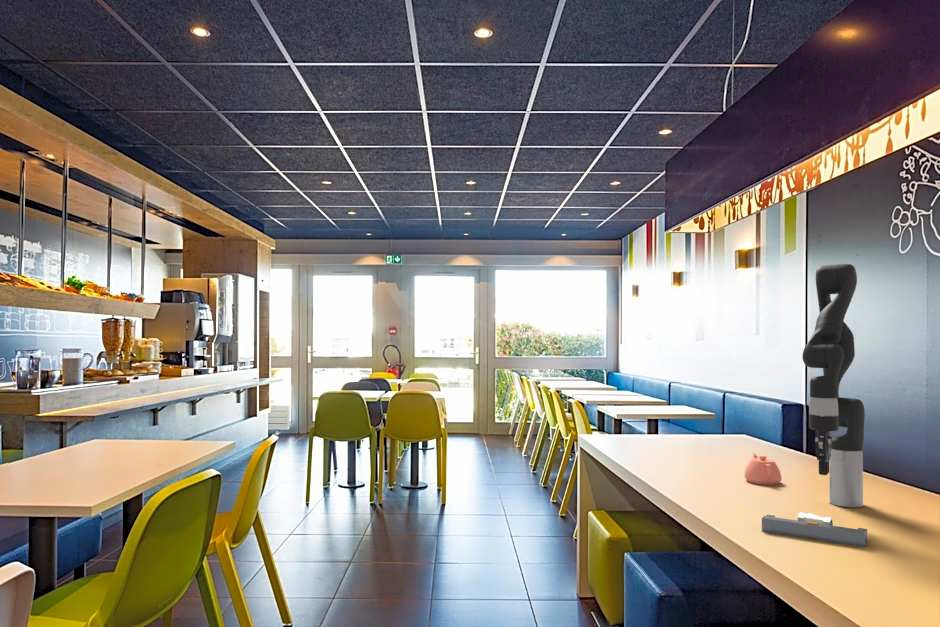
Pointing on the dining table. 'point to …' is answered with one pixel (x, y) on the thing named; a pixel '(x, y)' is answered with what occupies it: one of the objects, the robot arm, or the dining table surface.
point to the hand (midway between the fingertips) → (824, 473)
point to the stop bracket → (815, 531)
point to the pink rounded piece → (762, 471)
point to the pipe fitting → (815, 519)
